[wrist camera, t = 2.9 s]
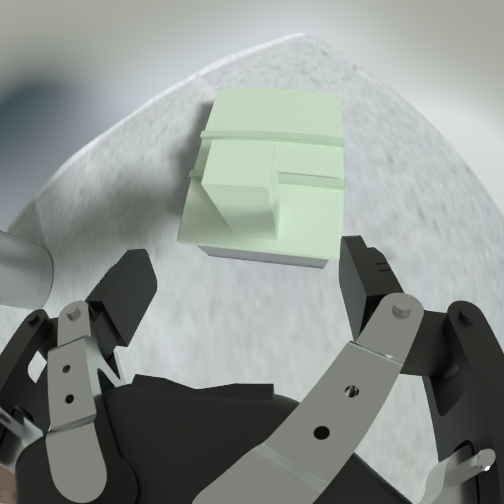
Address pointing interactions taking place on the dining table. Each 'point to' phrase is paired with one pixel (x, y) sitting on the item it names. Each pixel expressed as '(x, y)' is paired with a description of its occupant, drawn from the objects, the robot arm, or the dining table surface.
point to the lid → (269, 174)
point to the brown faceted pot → (7, 486)
